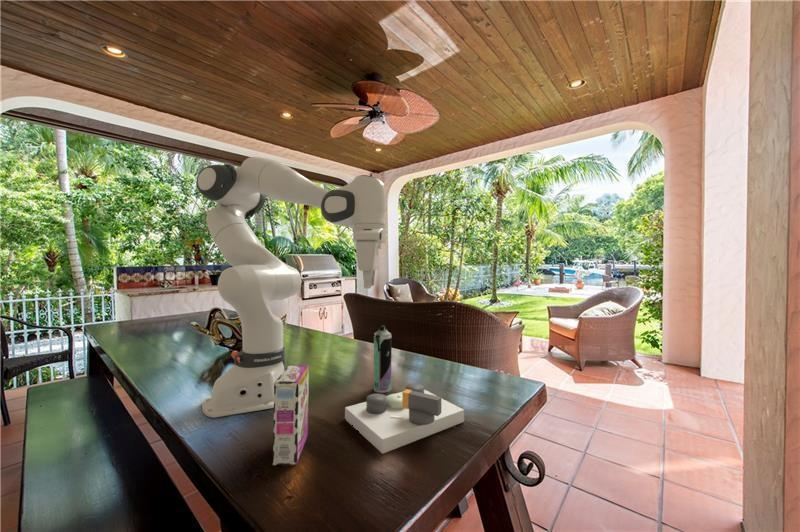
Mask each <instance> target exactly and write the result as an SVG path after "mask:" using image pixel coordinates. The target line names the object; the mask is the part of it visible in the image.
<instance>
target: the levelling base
mask: <svg viewBox="0 0 800 532" xmlns="http://www.w3.org/2000/svg"><path fill="white" fill-rule="evenodd" d="M406 389H408V390H412V391H416V392H421V393H425V394H430V395H434V396H437V395H436V394H434V393H433V392H431V391H428V390H426V389H425V386H424V385H422V384H419V383H408V384H407V385H405V390H406ZM402 392H403V391H400V392H397V393H391V394H388V395H386V394H384V393H372V394H368V395H367V396H366V401H364V402H359V403H356V404H353V405H349V406H346V407H344V420H345V419H346V420H345V421H346V422H348V423H349V425H351V426H352V425H353V426H352V427H353V429H355V430H358V431H359V434H361V435H362V436H363V437H364V438H365V439H366V440H367V441H368V442H369V443H371V444H372V445H373V446H374V447H375V449H377V450H378V451H379V452H380V453H381V454H386V453H388V452H391V451H393V450H395V449H399V448H401V447H403V446H406V445H409V444H411V443H413V442H416V441H419V440H421V439H424V438H426V437H429V436H431V435H434V434H436V433H439V432H442V431H444V430H447V429H450V428H452V427H454V426H456V425H459V424H462V423H464V422H465V409H463V408H462V407H459V406H458V405H455V404H454V403H452V402H450V401H448V400H445V398H444V399H443V398H442V397H441V414H440V415H439V416H435V420H434V422H432V423H431V424H427V425H418V424H414V423H412V422H411V421H410V420H409V409H406V408H402ZM358 431H357V432H358Z"/></svg>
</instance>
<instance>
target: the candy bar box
mask: <svg viewBox="0 0 800 532" xmlns="http://www.w3.org/2000/svg"><path fill="white" fill-rule="evenodd" d="M309 378H310V365H288V366H287V367H286V368H285V369H284V372H283V373H282V374H281V375H280V377H279V378H278V379H277V380H276V381H275V382H274V407H273V429H272V431H273V432H272V433H273V436H272V437H273V439H272V440H273V441H272V466H274V467H275V466H276V465H282V466H296V465H298V462H299V460H300V457H301V455H302V451H303V448H304V446H305V444H306V442H307V439H308V436H309V395H310V393H309V391H310V387H309V386H310V379H309Z"/></svg>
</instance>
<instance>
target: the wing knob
mask: <svg viewBox="0 0 800 532" xmlns="http://www.w3.org/2000/svg"><path fill="white" fill-rule="evenodd" d="M401 392H402V408H406V409H409V420H410V421H411V422H412V423H414V424H418V425H427V424H431V423H432V422H434V420H435V416H439V415H440V414H441V398H442V396H438V395H436V396H434V395H435V394H434V395H430V394H425V393H421V392H416V391H412V390H408V389H406V388H405V390H403V391H401Z"/></svg>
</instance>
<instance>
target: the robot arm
mask: <svg viewBox="0 0 800 532" xmlns="http://www.w3.org/2000/svg"><path fill="white" fill-rule="evenodd" d="M195 181H196V182H195V184H196V185H195V186H196V189H197V191H198V192H199V194H201V195H202V196H203V197H205V198H206V199H208V200H209V201H212V202H215V203H216V206H214V207H213V208H211V209H210V210H209V211H208V212H207V214H206V217H205V218H206V219H205V220H206V225H207V228H208V231H209V234H210V236H211V238H212V239H213V242H214V243H215V245H216V247H217V248H218V250H219V252H220V253H221V255H222V257H223V258H224V260H225V261H226V263H228V265H230V266H231V267H228V268H226V269H223V270H222V272H221V273H220V275H219V278H218V281H217V292H218V293H219V295H220V297H221V298H222V300H223V301H224V302H226V303H228V304H229V305H230V306H231V307H232V308H233V309H234V311H235V312H236V314H237V316H238V317H239V321H240V326H241V338H242V350H240V351H238V350H232V352H231V354H230V355H231V357H232V359H233V360H234V365H233V366H231V368H229V369H228V370H227V371H225V372H224V373H223V374H221V375H220V376H219V377H218V378H217V379H216V380H215V382H214V383H213V386H212V390H211V394H210V395H209V396H207V397H205V398H204V399H203V401H202V404H201V410H202V414H204V416H206V417H209V418H219V417H220V418H221V417H225V416H232V415H237V414H244V413H250V412H256V411H262V410H268V409H274V382H275V381H276V380H277V379H278V378H279V377H280V375H281V374H282V373H283V372H284V371H285V364H286V350H285V349H286V348H285V346H284V321H283V320H282V319H281V317H279V316H277V315H275V314H274V313H273V311H272V309H271V305H270V302H273V301H281V300H282V301H283V300H286V299H288V298H291V297H292V296H295V295H296V294H297V293H299V292H300V291H301V287H302V276H301V274H300V272H299V271H298V269H297V268H295V267H293V266H291V265H288V264H287V263H285V262H284V261H282V260H281V259H279V258H278V257H277V256H276V255H274V253H272V252H271V251H270V250H268V248H266V247H265V245H264V244H263V243H261V241H260V240H259V238H258V237H257V235H256V234H255V233H254V231H253V230H252V228H251V227H250V225H249V224H248V222H247V221H246V220H247V219H251V218H253V217H254V215H256V214H257V213H259V212H260V211H261V210H262V208H263V207H264V205H265V202H266V198H270V199H272V200H276V201H279V202H285V203H290V204H291V203H292V204H297V205H305V206H311V207H314V208H317V209H320V211H321V214H322V216H323V218H324V220H325V221H327V222H329V223H331V224H334V225H337V226H341V227H346V228H349V229H352V231H353V233H352V235H353V236H352V237H353V238H352V242H353V243H355V244H356V245H355V249H356V259H357V267H358V271H360V272H362V278H363V279H362V280H363V288H364V289H366V290H367V289H371V288H372V287H373V286H374V285H375V278H376V277H375V276H376V270H378V269H379V250H381V249H382V244H384V243H385V244H386V242H387V240H386V239H387V223H386V219H385V216H386V215H385V214H386V211H387V201H386V200H387V197H386V195H387V194H386V188H385V184H384V182H383V181H382V180H380V179H379V178H377V177H375V176H372V175H367V174H360V175H357V176H355V177H354V179H353V180H351V182H348V183H347V184H345V185H344V186H341V187H339V188H336V189H331V190H328V189H325V188H324V187H322V186H319V185H318V184H317V183H316V182H315V183H314V182H313V181H311V180H310V179H308V178H307V177H305V176H304V175H302V174H300V173H299V172H298V171H296V170H295V169H293V168H291V167H290V166H287V165H286V164H284V163H282V162H279V161H276V160H273V159H269V158H267V157H260V156H251V157H248V158H246V159H245V160H243V161H242V163H241V165H240V166H239V167H237V168H236V167H234V166H233V165H232V164H230V163H226V164H211V165H207V166H205V167H203V168H202V169H201V170H200V171H199V172H198V174H197V177H196V180H195Z"/></svg>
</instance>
